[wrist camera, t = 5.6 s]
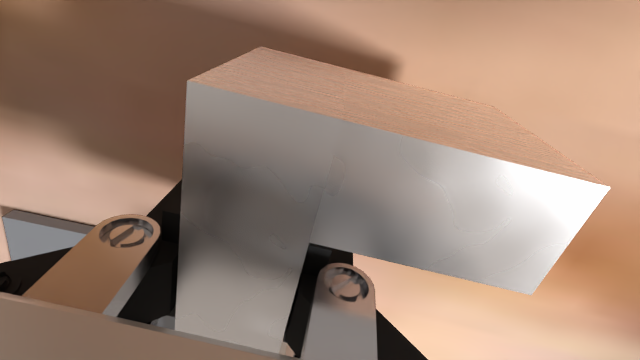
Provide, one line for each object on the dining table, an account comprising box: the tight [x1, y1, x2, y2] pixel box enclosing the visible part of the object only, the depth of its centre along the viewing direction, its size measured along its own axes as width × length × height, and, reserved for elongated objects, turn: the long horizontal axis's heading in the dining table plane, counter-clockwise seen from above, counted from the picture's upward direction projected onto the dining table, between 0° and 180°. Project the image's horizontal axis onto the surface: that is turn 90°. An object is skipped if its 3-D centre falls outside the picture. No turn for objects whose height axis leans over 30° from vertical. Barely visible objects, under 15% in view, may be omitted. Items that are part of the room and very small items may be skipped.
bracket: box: [175, 46, 610, 353], centre depth 9 cm, size 7×7×5 cm
